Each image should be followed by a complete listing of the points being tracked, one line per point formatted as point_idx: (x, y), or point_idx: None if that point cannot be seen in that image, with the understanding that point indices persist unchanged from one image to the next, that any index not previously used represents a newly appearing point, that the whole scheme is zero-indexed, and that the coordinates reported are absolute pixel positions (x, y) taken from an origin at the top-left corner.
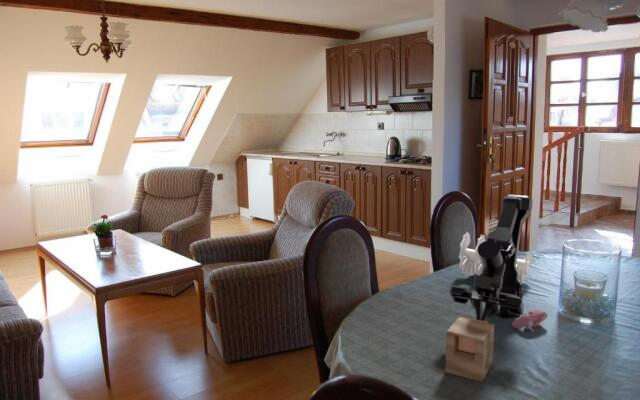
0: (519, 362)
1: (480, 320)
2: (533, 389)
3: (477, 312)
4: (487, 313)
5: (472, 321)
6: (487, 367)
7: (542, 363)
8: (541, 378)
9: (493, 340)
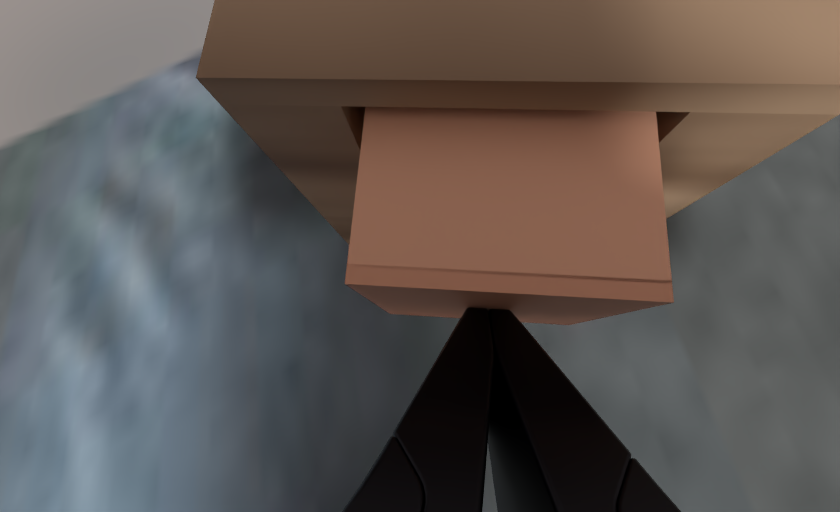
0: (211, 360)
1: (478, 286)
2: (155, 110)
3: (633, 505)
4: (359, 503)
5: (569, 11)
6: None
7: (78, 416)
8: (107, 228)
9: (306, 192)
